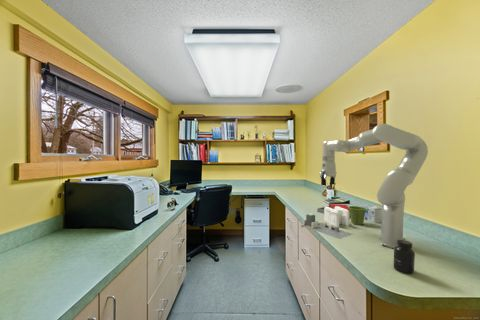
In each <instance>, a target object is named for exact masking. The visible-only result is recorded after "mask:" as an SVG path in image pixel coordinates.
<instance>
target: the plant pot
mask: <svg viewBox="0 0 480 320" xmlns="http://www.w3.org/2000/svg"><path fill="white" fill-rule="evenodd" d="M348 208H349V211H350V216H351V217H350V221H351V223H352V224H354V225H357V226H360V225H364V221H365V220H364V217H365V213H366V210H367V208H364V207H363V206H358V205H348Z"/></svg>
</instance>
